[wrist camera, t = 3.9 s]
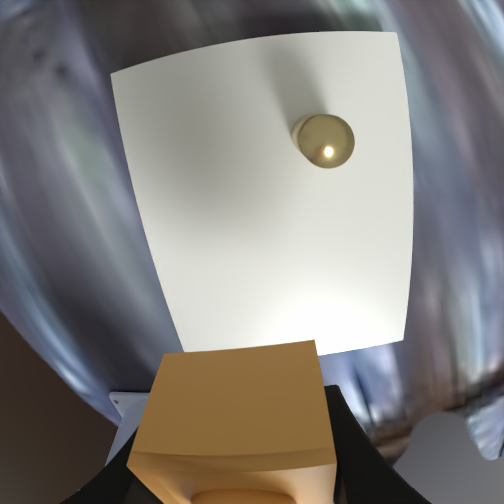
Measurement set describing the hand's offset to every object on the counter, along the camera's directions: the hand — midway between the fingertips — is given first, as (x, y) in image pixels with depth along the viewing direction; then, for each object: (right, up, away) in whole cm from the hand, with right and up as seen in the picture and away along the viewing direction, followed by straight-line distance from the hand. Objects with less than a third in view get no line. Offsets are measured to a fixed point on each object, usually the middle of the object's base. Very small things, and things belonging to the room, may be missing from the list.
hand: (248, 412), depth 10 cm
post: (+3, +11, +4) cm, 12 cm away
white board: (+2, +8, +7) cm, 10 cm away
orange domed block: (0, 0, +1) cm, 1 cm away
